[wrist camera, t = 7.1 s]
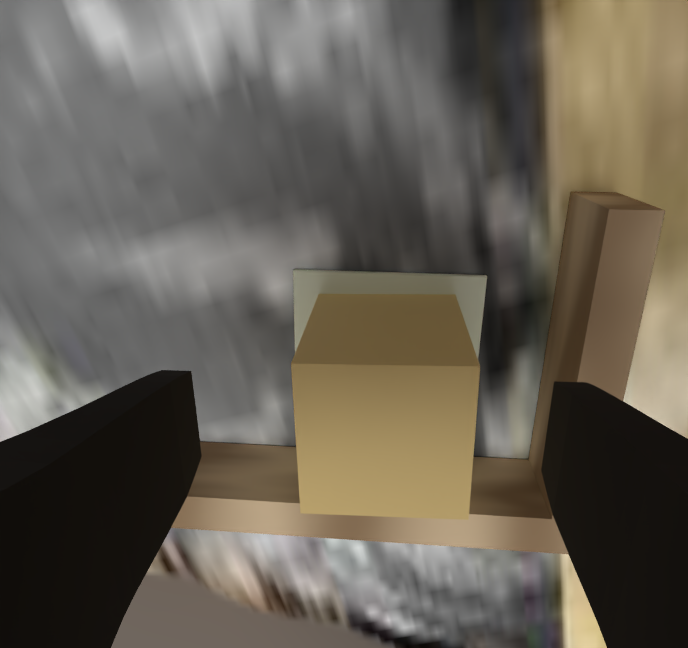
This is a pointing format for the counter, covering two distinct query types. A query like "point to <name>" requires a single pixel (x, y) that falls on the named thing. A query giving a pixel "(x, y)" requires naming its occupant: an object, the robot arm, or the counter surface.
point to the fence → (487, 473)
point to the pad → (389, 292)
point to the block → (385, 407)
